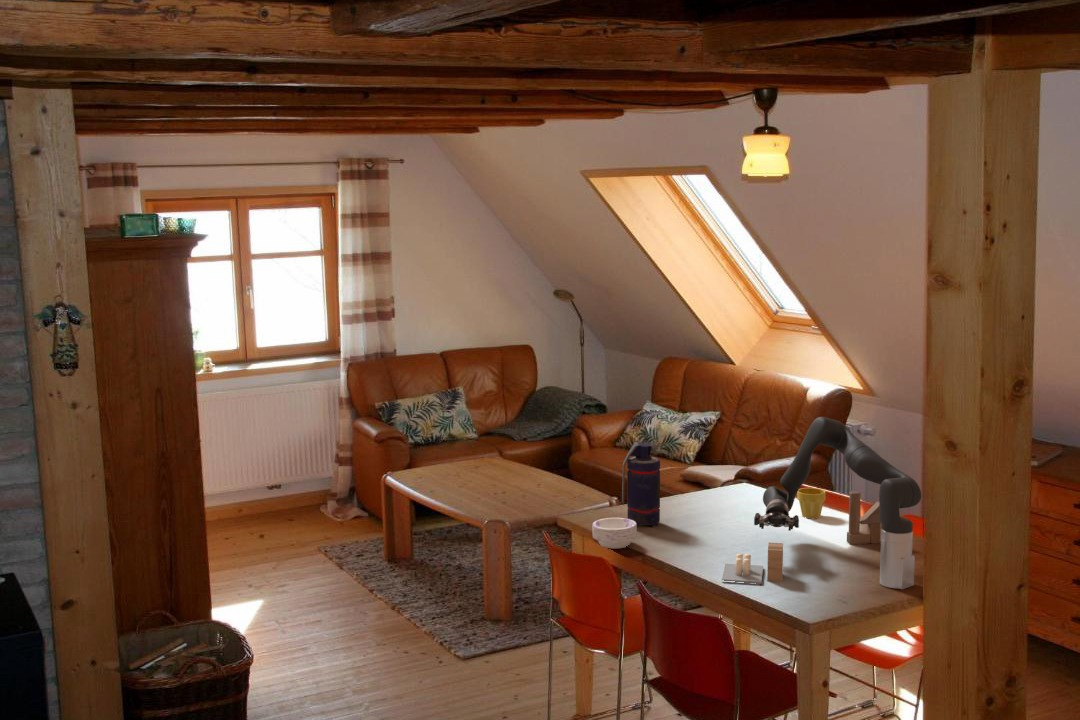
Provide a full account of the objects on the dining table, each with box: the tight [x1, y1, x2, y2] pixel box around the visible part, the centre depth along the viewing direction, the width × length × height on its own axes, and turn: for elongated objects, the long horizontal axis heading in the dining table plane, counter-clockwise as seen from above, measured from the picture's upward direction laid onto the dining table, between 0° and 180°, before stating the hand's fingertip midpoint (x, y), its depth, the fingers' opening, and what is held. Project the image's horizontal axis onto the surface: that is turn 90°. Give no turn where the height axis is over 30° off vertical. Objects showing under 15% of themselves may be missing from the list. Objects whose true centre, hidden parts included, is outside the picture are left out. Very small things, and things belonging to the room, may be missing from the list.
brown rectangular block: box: [766, 542, 784, 583], centre depth 363 cm, size 8×4×10 cm, turn 167°
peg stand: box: [721, 553, 764, 585], centre depth 365 cm, size 16×12×6 cm
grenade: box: [621, 441, 661, 527], centre depth 423 cm, size 14×12×30 cm
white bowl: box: [591, 517, 638, 550], centre depth 398 cm, size 15×15×8 cm
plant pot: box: [796, 487, 827, 519], centre depth 432 cm, size 10×10×10 cm
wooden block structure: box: [846, 490, 881, 546], centre depth 397 cm, size 4×11×18 cm, turn 95°
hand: (776, 526), depth 372 cm, fingers open, 8 cm apart
